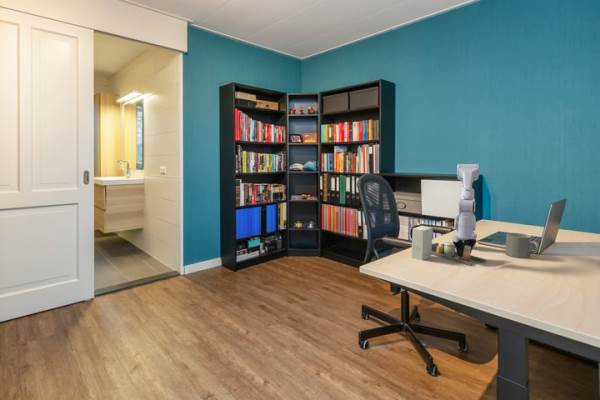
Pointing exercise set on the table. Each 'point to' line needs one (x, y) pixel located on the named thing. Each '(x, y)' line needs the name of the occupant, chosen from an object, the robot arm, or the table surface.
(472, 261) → the grey rectangular tray
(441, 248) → the pusher
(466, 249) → the jar
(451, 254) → the jar
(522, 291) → the table surface
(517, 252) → the coffee mug
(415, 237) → the skincare box
